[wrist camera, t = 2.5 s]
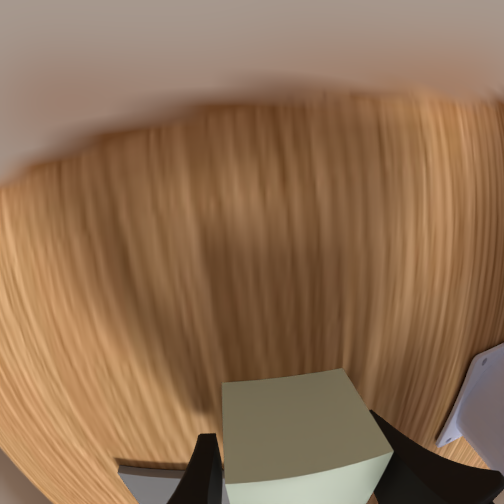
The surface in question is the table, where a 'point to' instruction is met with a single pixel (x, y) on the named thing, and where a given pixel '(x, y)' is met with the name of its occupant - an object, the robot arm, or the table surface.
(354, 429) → the cube
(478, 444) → the robot arm
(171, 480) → the coaster
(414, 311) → the table surface
